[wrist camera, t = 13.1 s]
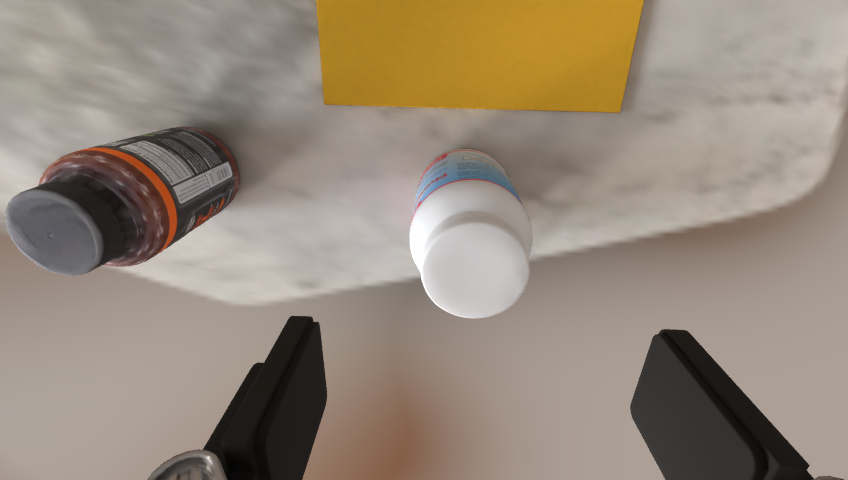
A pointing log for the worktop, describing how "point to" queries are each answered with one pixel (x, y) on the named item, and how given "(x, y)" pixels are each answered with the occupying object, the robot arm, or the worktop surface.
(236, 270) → the worktop surface
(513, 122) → the worktop surface
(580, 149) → the worktop surface
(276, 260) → the worktop surface
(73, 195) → the supplement bottle
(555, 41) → the cloth
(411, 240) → the pill bottle
